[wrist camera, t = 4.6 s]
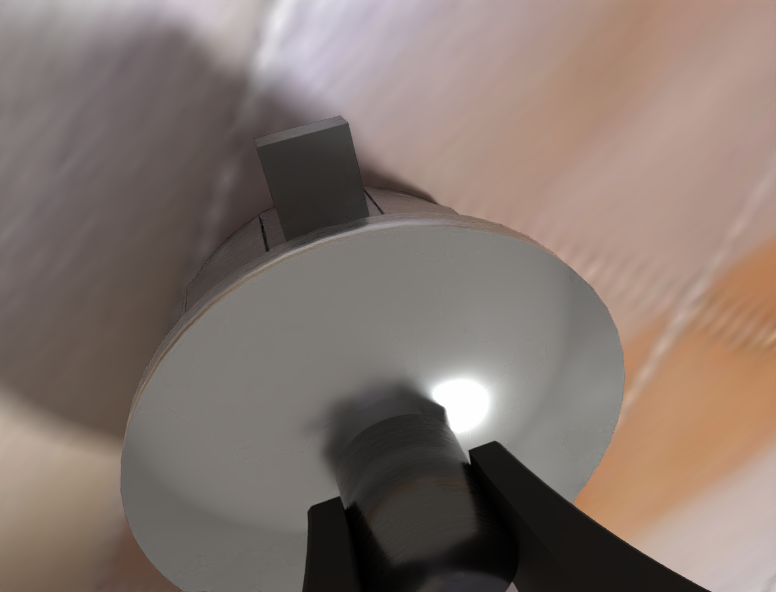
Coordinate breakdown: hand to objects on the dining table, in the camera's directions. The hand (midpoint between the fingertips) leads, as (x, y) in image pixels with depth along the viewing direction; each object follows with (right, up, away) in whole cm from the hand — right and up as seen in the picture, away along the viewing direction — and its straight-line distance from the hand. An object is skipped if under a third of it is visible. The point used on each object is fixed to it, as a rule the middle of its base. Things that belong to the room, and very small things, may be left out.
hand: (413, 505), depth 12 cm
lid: (-1, +2, +2) cm, 3 cm away
